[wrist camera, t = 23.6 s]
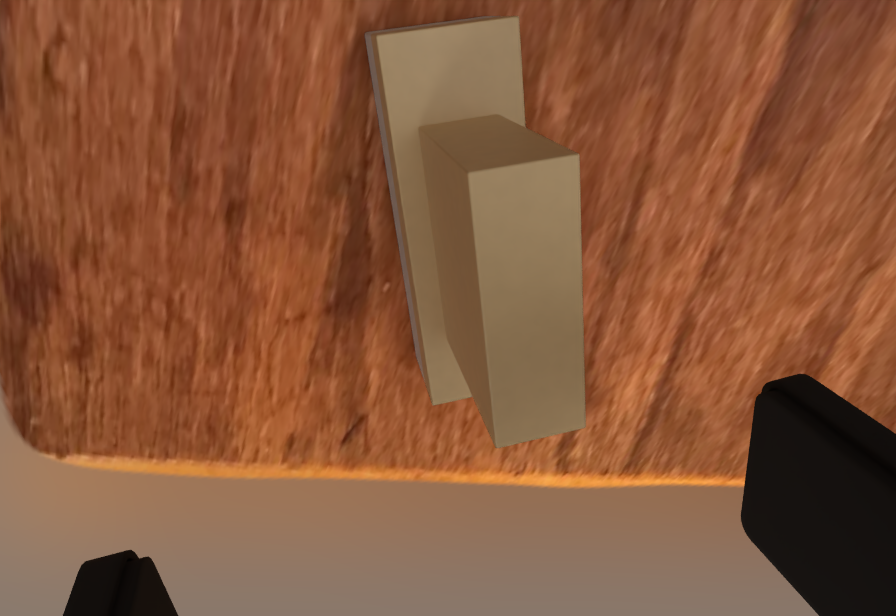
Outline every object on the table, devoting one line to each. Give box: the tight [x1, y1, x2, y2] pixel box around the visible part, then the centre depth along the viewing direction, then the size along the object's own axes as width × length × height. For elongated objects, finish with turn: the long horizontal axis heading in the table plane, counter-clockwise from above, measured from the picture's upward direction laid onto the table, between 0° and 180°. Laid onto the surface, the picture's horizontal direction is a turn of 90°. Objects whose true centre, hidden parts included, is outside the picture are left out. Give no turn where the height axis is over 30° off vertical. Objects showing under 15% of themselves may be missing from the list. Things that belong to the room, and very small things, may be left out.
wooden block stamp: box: [365, 16, 586, 448], centre depth 18 cm, size 4×12×10 cm, turn 7°
